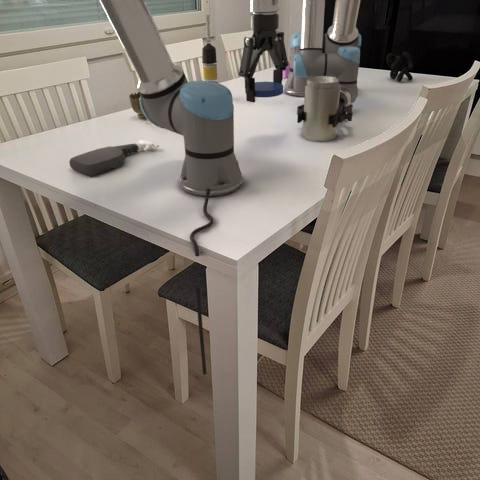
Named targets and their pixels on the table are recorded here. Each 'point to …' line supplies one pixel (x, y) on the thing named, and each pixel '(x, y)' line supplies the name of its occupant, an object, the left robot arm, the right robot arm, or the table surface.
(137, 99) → the cup
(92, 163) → the spray bottle
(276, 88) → the lid
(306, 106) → the jar
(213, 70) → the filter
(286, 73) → the bracket
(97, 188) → the table surface
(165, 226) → the table surface
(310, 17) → the right robot arm
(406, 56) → the squiggle
